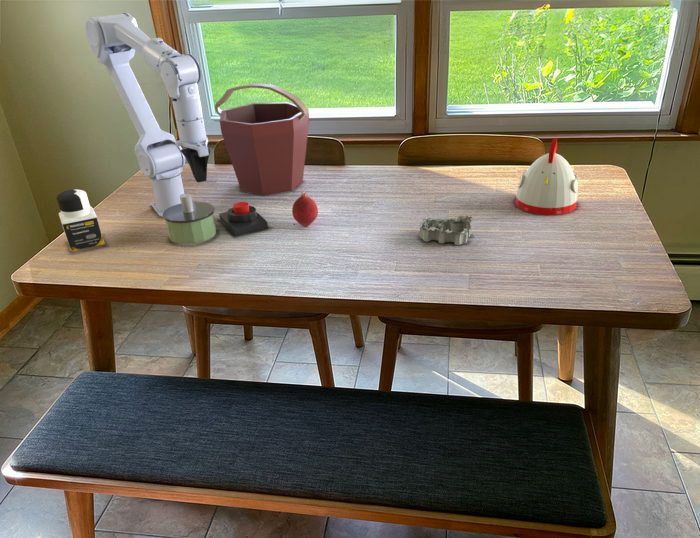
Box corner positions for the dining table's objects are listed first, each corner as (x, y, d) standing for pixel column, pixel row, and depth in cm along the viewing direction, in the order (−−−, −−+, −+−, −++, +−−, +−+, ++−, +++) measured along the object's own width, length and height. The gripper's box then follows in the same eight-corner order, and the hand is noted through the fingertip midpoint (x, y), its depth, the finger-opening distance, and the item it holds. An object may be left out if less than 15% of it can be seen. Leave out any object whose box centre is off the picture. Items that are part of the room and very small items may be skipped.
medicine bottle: (71, 253, 134) (54, 200, 127) (67, 242, 139) (51, 190, 132) (105, 246, 136) (90, 193, 129) (100, 235, 142) (85, 184, 135)
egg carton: (473, 233, 134) (474, 216, 132) (464, 247, 128) (465, 229, 126) (426, 227, 138) (427, 210, 135) (415, 240, 132) (416, 222, 130)
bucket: (209, 189, 164) (192, 90, 150) (261, 165, 179) (249, 72, 165) (283, 204, 153) (271, 98, 139) (331, 177, 168) (325, 79, 154)
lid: (158, 213, 138) (153, 192, 136) (206, 202, 142) (203, 183, 140) (170, 229, 130) (165, 208, 127) (221, 218, 134) (217, 197, 131)
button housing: (219, 220, 146) (217, 206, 144) (251, 213, 149) (249, 199, 147) (234, 236, 138) (232, 222, 136) (268, 228, 141) (266, 214, 139)
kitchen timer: (510, 211, 143) (518, 146, 135) (520, 191, 154) (527, 129, 145) (573, 217, 139) (584, 150, 130) (578, 196, 149) (589, 133, 141)
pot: (165, 233, 141) (159, 210, 138) (208, 223, 145) (204, 201, 141) (176, 249, 133) (171, 226, 130) (222, 239, 137) (218, 215, 134)
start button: (231, 211, 142) (230, 203, 141) (246, 207, 143) (245, 200, 142) (236, 216, 139) (235, 208, 138) (251, 212, 141) (250, 205, 140)
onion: (315, 232, 138) (312, 197, 133) (290, 231, 139) (287, 196, 135) (321, 222, 143) (319, 188, 138) (297, 220, 144) (294, 187, 139)
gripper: (162, 114, 135) (175, 175, 142) (179, 128, 124) (192, 193, 131) (194, 109, 137) (205, 170, 145) (213, 122, 126) (224, 187, 134)
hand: (201, 180), depth 138 cm, fingers closed
